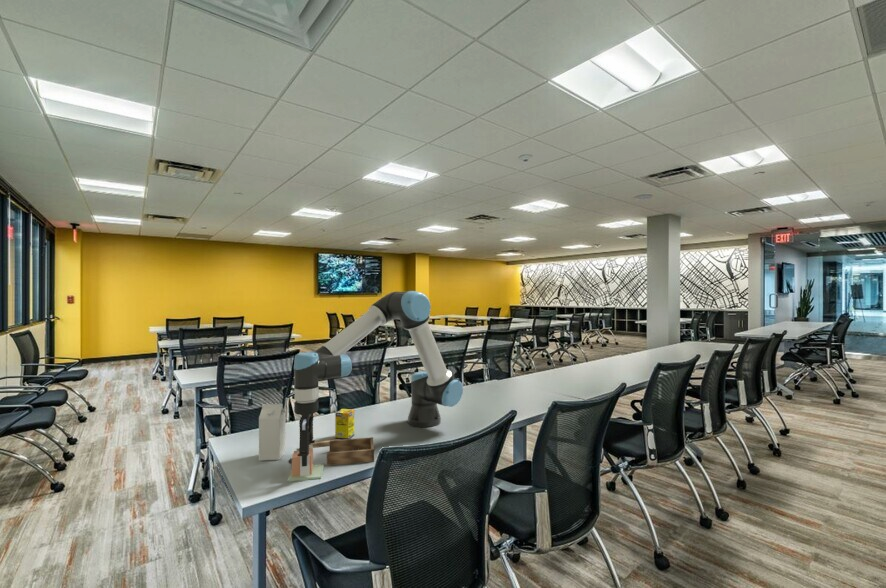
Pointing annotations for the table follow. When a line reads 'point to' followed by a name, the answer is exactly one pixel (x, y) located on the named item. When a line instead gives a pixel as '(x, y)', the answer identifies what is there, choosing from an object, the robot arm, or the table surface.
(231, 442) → the table surface
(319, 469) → the felt pad
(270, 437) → the milk carton
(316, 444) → the oak crook tool
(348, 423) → the supplement box
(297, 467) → the terracotta block
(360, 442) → the walnut stall
